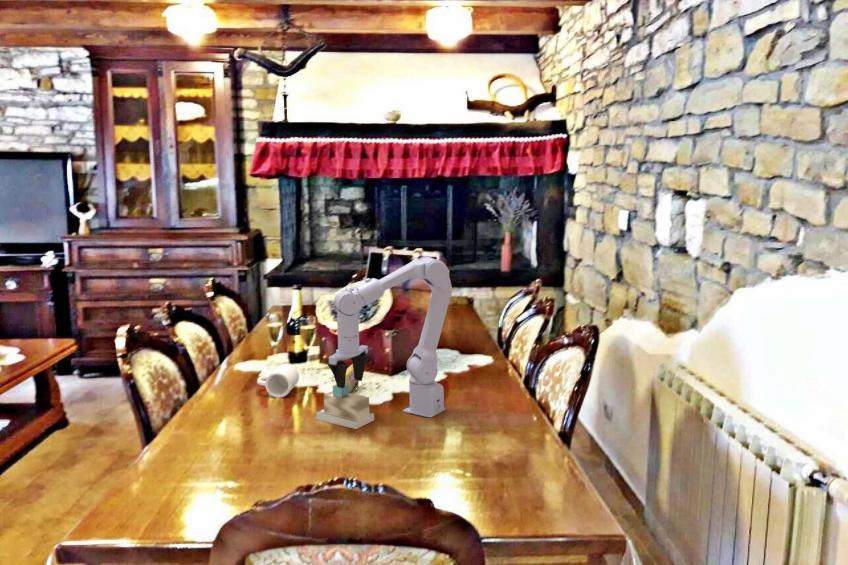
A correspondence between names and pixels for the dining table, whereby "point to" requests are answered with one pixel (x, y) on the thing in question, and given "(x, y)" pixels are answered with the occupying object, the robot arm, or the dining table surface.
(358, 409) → the thick cream slab
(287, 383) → the mug
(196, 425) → the dining table surface
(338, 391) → the matte teal cube
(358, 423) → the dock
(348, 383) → the candy box
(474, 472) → the dining table surface
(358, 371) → the robot arm
